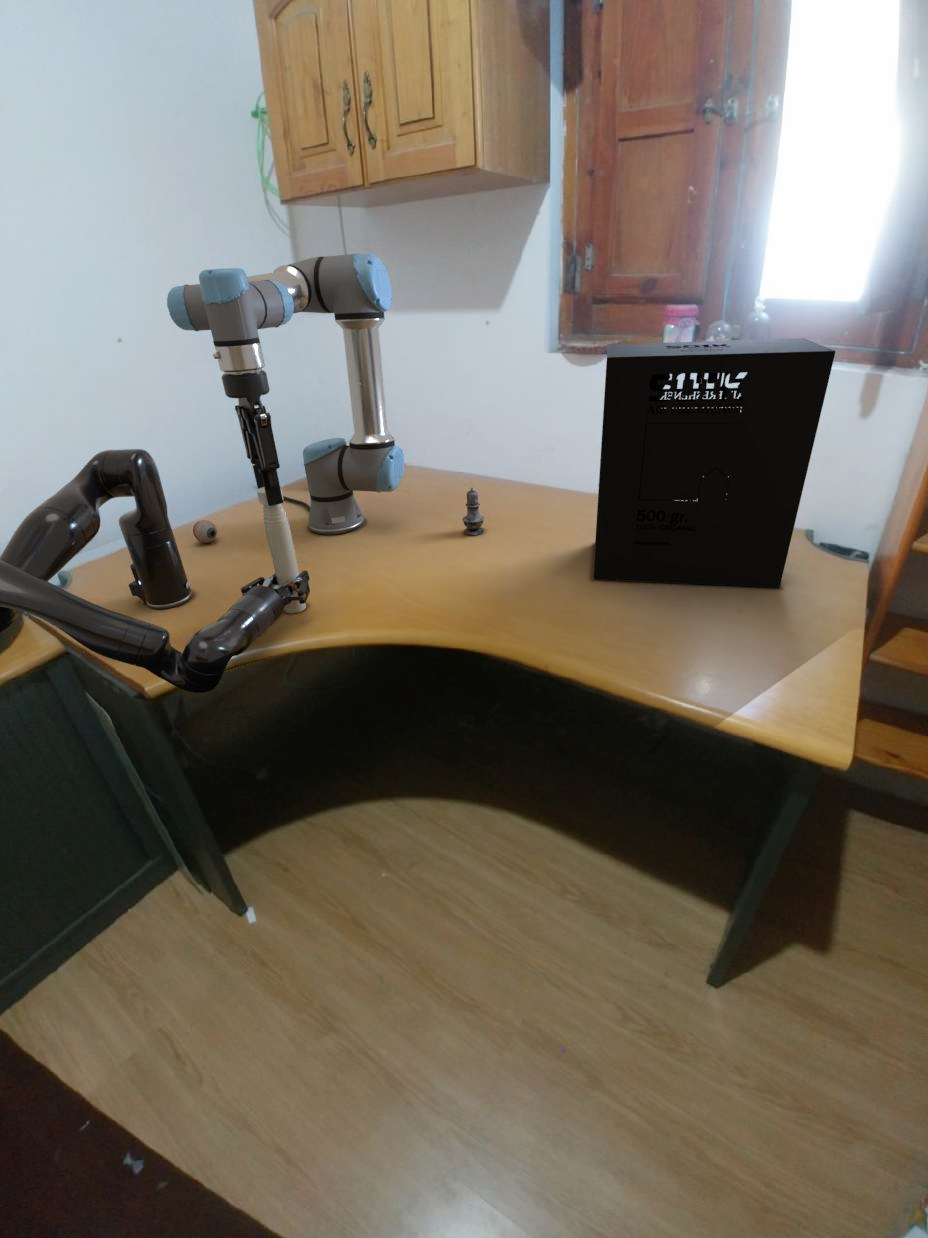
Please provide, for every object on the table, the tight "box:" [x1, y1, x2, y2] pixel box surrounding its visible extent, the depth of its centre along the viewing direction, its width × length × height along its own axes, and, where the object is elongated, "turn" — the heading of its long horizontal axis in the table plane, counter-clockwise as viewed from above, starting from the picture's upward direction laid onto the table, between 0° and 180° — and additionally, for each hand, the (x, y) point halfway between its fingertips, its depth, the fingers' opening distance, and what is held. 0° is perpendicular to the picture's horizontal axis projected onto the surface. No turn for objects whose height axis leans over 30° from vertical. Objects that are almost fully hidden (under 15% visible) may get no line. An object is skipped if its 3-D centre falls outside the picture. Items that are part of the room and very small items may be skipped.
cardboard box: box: [592, 337, 836, 589], centre depth 125 cm, size 38×20×45 cm, turn 78°
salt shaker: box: [461, 487, 485, 536], centre depth 157 cm, size 6×6×12 cm
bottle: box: [262, 503, 307, 614], centre depth 122 cm, size 5×5×25 cm
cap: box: [256, 486, 285, 505], centre depth 116 cm, size 5×4×2 cm
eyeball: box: [192, 519, 218, 544], centre depth 162 cm, size 6×6×6 cm
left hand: (294, 574), depth 127 cm, fingers closed on bottle, 4 cm apart
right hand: (271, 500), depth 116 cm, fingers closed on cap, 4 cm apart
